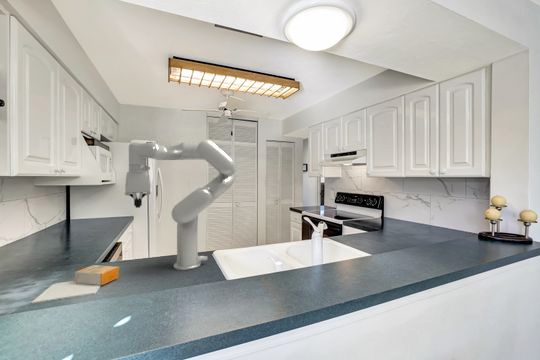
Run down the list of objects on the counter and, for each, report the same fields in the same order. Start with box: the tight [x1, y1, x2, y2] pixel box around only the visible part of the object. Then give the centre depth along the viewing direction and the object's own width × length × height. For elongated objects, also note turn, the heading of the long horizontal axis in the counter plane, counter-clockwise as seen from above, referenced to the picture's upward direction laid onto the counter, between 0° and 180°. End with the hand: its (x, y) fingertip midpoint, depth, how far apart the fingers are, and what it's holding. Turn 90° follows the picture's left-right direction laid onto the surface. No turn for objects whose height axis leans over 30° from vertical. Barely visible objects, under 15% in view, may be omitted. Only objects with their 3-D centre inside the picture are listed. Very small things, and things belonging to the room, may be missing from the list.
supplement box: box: [74, 264, 120, 286], centre depth 98 cm, size 8×5×13 cm
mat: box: [30, 280, 102, 305], centre depth 91 cm, size 18×16×1 cm
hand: (138, 207), depth 114 cm, fingers closed
